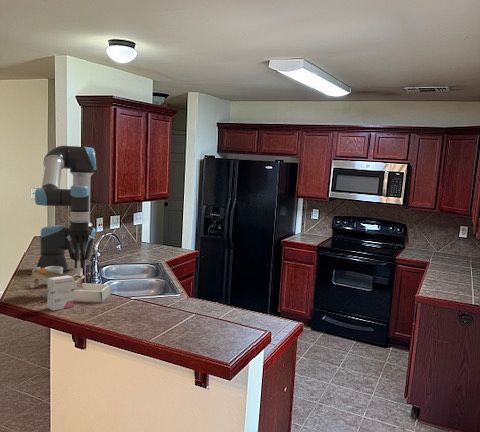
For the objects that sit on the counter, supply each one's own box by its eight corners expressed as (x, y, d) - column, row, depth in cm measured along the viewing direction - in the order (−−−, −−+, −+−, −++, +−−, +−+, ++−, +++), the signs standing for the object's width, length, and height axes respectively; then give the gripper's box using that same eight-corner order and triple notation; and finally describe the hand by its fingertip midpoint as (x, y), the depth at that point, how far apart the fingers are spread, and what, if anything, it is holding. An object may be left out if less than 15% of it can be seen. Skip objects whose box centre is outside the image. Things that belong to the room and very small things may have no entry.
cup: (52, 289, 197) (52, 271, 196) (36, 287, 198) (36, 269, 197) (66, 283, 207) (66, 266, 206) (50, 282, 209) (51, 265, 208)
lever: (45, 279, 198) (48, 262, 198) (83, 287, 198) (86, 270, 198) (29, 287, 183) (32, 269, 183) (70, 295, 183) (73, 278, 183)
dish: (82, 293, 192) (82, 283, 192) (110, 294, 192) (111, 284, 191) (71, 301, 180) (71, 290, 180) (101, 302, 180) (102, 291, 180)
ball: (38, 270, 187) (43, 265, 187) (44, 276, 188) (49, 270, 187) (35, 272, 184) (40, 267, 184) (40, 277, 184) (46, 272, 184)
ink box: (68, 304, 176) (69, 274, 175) (74, 306, 173) (74, 276, 172) (46, 308, 170) (46, 277, 169) (52, 311, 167) (52, 279, 166)
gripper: (61, 221, 189) (61, 276, 190) (91, 222, 189) (91, 277, 190) (68, 220, 196) (68, 273, 198) (97, 221, 196) (97, 274, 198)
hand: (79, 275), depth 194 cm, fingers closed
